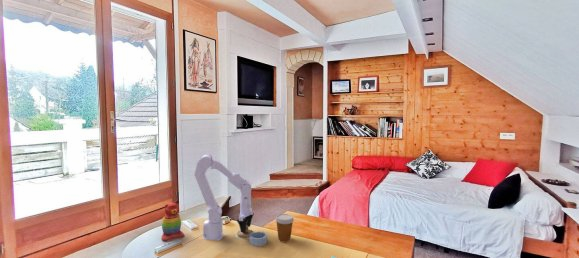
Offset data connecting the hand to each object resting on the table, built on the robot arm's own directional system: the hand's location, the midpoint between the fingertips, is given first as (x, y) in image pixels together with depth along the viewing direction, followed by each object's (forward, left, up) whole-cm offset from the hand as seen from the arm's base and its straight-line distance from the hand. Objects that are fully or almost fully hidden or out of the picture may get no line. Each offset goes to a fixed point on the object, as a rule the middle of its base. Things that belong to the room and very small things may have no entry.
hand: (245, 229), depth 147 cm
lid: (0, 0, -3) cm, 3 cm away
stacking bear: (-38, -10, -4) cm, 39 cm away
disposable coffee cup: (+21, 0, -4) cm, 22 cm away
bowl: (+9, -7, -3) cm, 12 cm away
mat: (0, 0, -3) cm, 3 cm away
